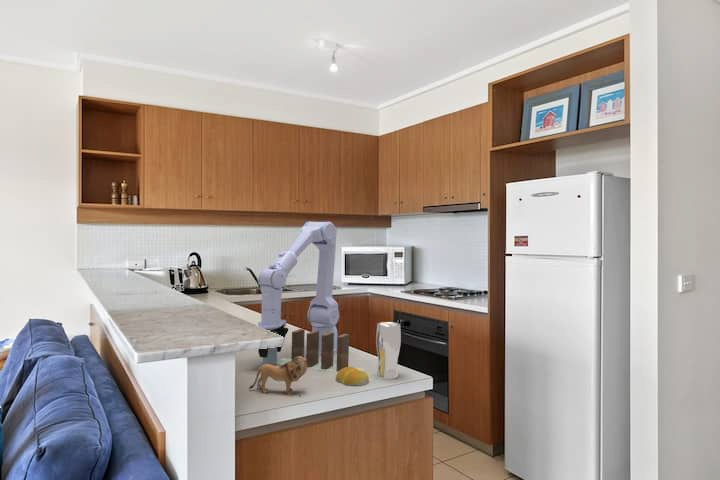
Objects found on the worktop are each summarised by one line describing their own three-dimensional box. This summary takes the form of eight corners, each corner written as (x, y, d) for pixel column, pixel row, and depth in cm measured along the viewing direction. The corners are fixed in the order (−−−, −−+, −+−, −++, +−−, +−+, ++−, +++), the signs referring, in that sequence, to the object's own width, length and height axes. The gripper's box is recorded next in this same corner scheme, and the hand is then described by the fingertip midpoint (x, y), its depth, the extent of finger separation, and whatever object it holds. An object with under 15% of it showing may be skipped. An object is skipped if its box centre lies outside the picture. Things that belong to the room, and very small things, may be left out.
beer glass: (400, 380, 137) (402, 326, 136) (375, 380, 136) (377, 326, 136) (398, 373, 144) (400, 322, 143) (374, 372, 143) (376, 321, 143)
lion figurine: (307, 388, 128) (308, 354, 128) (305, 395, 122) (306, 359, 122) (250, 387, 128) (251, 352, 128) (246, 394, 122) (246, 358, 122)
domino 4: (320, 368, 145) (321, 335, 145) (328, 364, 150) (329, 332, 150) (325, 369, 145) (326, 335, 144) (333, 365, 149) (333, 332, 149)
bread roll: (352, 390, 128) (352, 374, 128) (331, 381, 135) (331, 367, 135) (375, 384, 134) (376, 369, 134) (354, 376, 140) (354, 362, 140)
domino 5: (336, 371, 143) (337, 336, 143) (343, 366, 148) (344, 333, 148) (341, 371, 143) (342, 337, 142) (348, 367, 147) (349, 334, 147)
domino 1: (263, 368, 146) (263, 334, 145) (272, 364, 150) (273, 331, 150) (267, 368, 145) (268, 335, 145) (276, 364, 150) (277, 332, 149)
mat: (283, 358, 157) (283, 357, 157) (365, 370, 146) (365, 368, 146) (271, 364, 150) (271, 363, 150) (356, 376, 140) (356, 375, 140)
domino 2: (291, 364, 149) (292, 331, 149) (299, 360, 154) (300, 328, 153) (295, 365, 148) (296, 332, 148) (303, 361, 153) (304, 329, 153)
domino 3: (305, 366, 147) (306, 333, 147) (313, 362, 152) (314, 330, 151) (310, 367, 146) (311, 333, 146) (318, 363, 151) (319, 330, 151)
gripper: (272, 304, 156) (271, 347, 156) (245, 311, 142) (244, 358, 142) (292, 306, 153) (291, 350, 153) (266, 313, 139) (265, 361, 140)
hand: (270, 354), depth 148 cm, fingers open, 7 cm apart
